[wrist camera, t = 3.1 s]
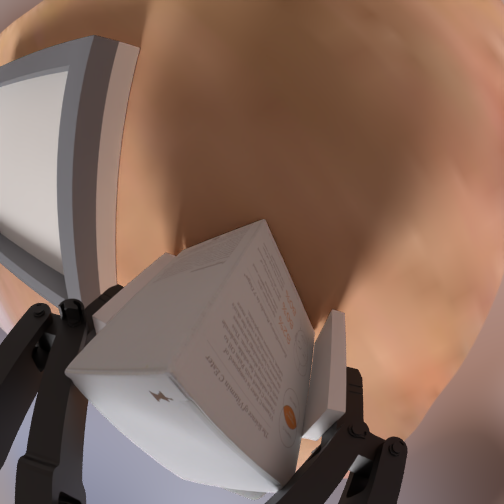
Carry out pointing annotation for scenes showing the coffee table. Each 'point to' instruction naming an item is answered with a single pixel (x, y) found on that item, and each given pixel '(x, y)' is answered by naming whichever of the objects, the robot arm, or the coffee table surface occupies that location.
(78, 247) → the square gray-rimmed holder
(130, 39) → the coffee table surface
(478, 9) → the coffee table surface
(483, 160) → the coffee table surface
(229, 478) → the small box
